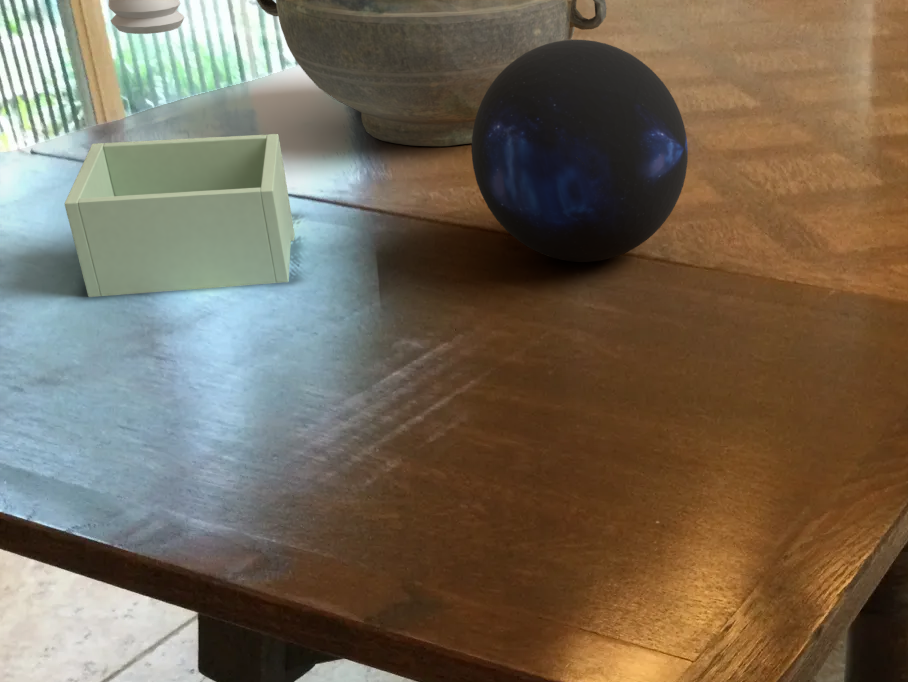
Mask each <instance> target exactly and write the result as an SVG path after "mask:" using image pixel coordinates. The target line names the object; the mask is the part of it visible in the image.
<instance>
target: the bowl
mask: <svg viewBox="0 0 908 682" xmlns="http://www.w3.org/2000/svg"><path fill="white" fill-rule="evenodd" d="M577 1H578V0H275V1H274V0H256V2H257V4H258V5H259V7H260V9H262V10H263V11H264V12H265V13H266V14H267V15H269V16H273V17H278V22H279V25H280V28H281V31H282V34H283V36H284V37H283V38H284V39H285V42H286V45H287V47H288V50H289V51H290V53H291V55H292V56H293V58H294V60H295V61H296V63H297V64H298V65H299V67H300V68H301V70H302V71H303V72H304V73H305V74H306V75H307V77H308V78H309V80H311V81H312V82H313V83H314V84H315V86H316V87H317V88H318V89H320V90H321V91H323V92H324V93H325V94H327V95H328V96H329V97H330V98H332V99H333V100H335V101H337V102H339V103H341V104H343V105H344V106H347V107H349V108H351V109H353V110H355V111H358V112H359V113H361V114H360V115H361V123H362V125H363V127H364V129H365V132H366V133H367V134H369V135H370V136H371V137H373V138H374V139H377V140H380V141H382V142H387V143H391V144H398V145H403V146H416V147H451V146H458V145H468V144H472V135H473V128H474V123H475V119H476V115H477V112H478V109H479V107H480V104H481V102H482V100H483V98H484V96H485V94H486V92H487V90H488V89H489V87H490V86H491V84H492V83H493V81H494V80H495V79H496V78H497V76H498V75H499V74H500V73H501V72H502V71H503V70H504V69H505V68H506V67H507V66H508V65H509V64H511V63H512V62H513V61H515V60H516V59H517V58H519V57H520V56H522V55H523V54H525V53H527V52H529V51H531V50H533V49H535V48H537V47H540V46H542V45H545V44H549V43H552V42H557V41H564V40H573V37H574V33H575V29H578V30H580V31H581V30H582V31H584V30H585V31H587V30H594V29H596V28H599V27H600V26H601V24H602V23H603V22H604V21H605V19H606V17H607V9H608V7H607V2H606V0H592V1H593V2H594V16H593V17H592V18H586V17H584V16H583V15H582V14H581V12H580V11H579V10H578V9H577Z"/></svg>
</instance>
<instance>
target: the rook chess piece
mask: <svg viewBox="0 0 908 682" xmlns="http://www.w3.org/2000/svg"><path fill="white" fill-rule="evenodd" d="M180 5H181V2H180V0H108V8H109V9H110V11H112V13H114V14H115V15H114V16H113V17H112V18H111V19H110V23H111V24H112V25H113V26H114V28H116V30H118V32H121V33H125V34H132V35H148V34H149V35H150V34H161V33H166V32H170V31H174V30H176V29H179V28H180V27H181V26H182V23H183V21H184V19H185V16H184V15H183V14H182V13H181V12H179V11H178V8H179V7H180Z"/></svg>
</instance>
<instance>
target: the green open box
mask: <svg viewBox="0 0 908 682" xmlns="http://www.w3.org/2000/svg"><path fill="white" fill-rule="evenodd" d="M281 148H282V147H281V141H280V136H279V134H278V133H270V134H253V135H251V134H250V135H232V136H231V135H230V136H212V137H195V138H178V139H177V138H174V139H173V138H172V139H156V140H154V139H153V140H141V141H140V140H138V141H137V140H135V141H117V142H105V143H104V142H98V143H92V144H91V145H90V148H89V150H88V152H87V155H86V156H85V159H84V161H83V162H82V165H81V167H80V169H79V171H78V174H77V175H76V178H75V180H74V182H73V185H72V187H71V189H70V190H69V193H68V195H67V197H66V200H65V201H64V207H65V211H66V216H67V219H68V224H69V226H70V231H71V235H72V239H73V242H74V247H75V251H76V255H77V258H78V262H79V266H80V270H81V273H82V278H83V282H84V285H85V289H86V294H87V297H88V298H97V297H108V296H110V297H111V296H123V295H136V294H149V293H161V292H175V291H188V290H200V289H202V290H203V289H215V288H228V287H242V286H254V285H255V286H256V285H269V284H282V283H289V280H290V264H291V245H292V242H295V237H296V235H295V228H294V221H293V217H292V216H293V215H292V209H291V203H290V196H289V190H288V185H287V178H286V172H285V165H284V161H283V159H284V158H283V153H282V149H281Z"/></svg>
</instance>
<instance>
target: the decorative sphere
mask: <svg viewBox="0 0 908 682" xmlns="http://www.w3.org/2000/svg"><path fill="white" fill-rule="evenodd" d="M665 84H666V83H664V82H663V80H662V79H661V78H660V77H659V76H658V75H657V74H656V73H655V72H654V71H653V69H651V68H650V67H649V66H648V65H647V64H646V63H644V62H643V61H642V60H641V59H639V58H637V57H636V56H634V55H633V54H631V53H629V52H628V51H626V50H623V49H621V48H620V47H616V46H614V45H611V44H608V43H605V42H600V41H596V40H589V39H572V40H564V41H557V42H552V43H549V44H545V45H542V46H540V47H537V48H535V49H533V50H531V51H529V52H527V53H525V54H523V55H522V56H520V57H519V58H517V59H516V60H515V61H513V62H512V63H511V64H509V65H508V66H507V67H506V68H505V69H504V70H503V71H502V72H501V73H500V74H499V75H498V76H497V78H496V79H495V80H494V81H493V83H492V84H491V86H490V87H489V89H488V90H487V92H486V94H485V96H484V98H483V100H482V102H481V104H480V107H479V109H478V112H477V115H476V119H475V123H474V128H473V135H472V143H471V159H472V160H471V161H472V167H473V173H474V177H475V181H476V184H477V186H478V189H479V191H480V195H481V197H482V198H483V200H484V203H485V204H486V206H487V207H488V210H489V211H490V212H491V215H492V216H493V217H494V218H495V219H496V221H497V222H498V224H500V225H501V226H502V227H503V229H504V230H505V231H506V232H507V233H508V234H510V235H511V236H512V237H513V238H514V239H516V240H517V241H518V242H520V243H521V244H523V245H524V246H526V247H527V248H529V249H530V250H533V251H535V252H537V253H539V254H542V255H543V256H547V257H549V258H553V259H556V260H561V261H567V262H573V263H589V262H599V261H605V260H609V259H613V258H615V257H618V256H622V255H624V254H626V253H628V252H631V251H632V250H635V249H636V248H637V247H638V246H641V245H642V244H643V243H644V242H646V241H647V240H649V239H650V238H652V236H653V235H654V234H655V233H656V232H657V231H658V230H659V229H660V228H661V227H662V226H663V225H664V224H665V222H666V221H667V220H668V218H669V217H670V215H671V214H672V212H673V211H674V208H675V206H676V204H677V202H678V200H679V198H680V196H681V194H682V190H683V188H684V184H685V181H686V180H685V179H686V175H687V170H688V169H687V168H688V160H689V159H688V157H689V155H688V154H689V150H688V149H689V148H688V147H689V146H688V137H687V133H686V127H685V124H684V120H683V117H682V114H681V112H680V108H679V107H678V105H677V103H676V100H675V98H674V96H673V95H672V93H671V91H670V90H669V89H668V87H667V85H665Z"/></svg>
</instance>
